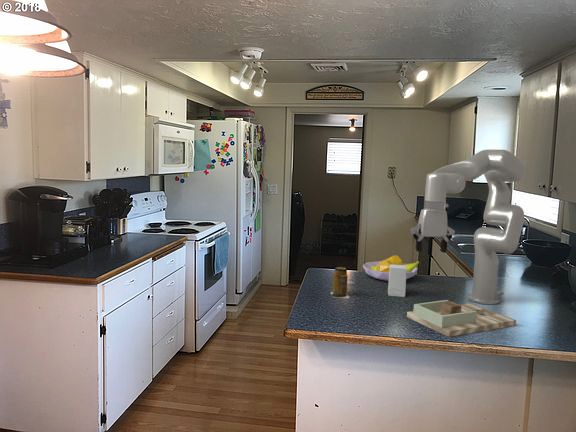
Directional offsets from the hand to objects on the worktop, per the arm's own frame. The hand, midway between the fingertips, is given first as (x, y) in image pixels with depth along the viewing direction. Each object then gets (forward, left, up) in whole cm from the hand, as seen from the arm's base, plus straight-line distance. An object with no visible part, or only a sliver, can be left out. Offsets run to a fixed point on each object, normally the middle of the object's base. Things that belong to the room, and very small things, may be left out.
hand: (430, 251), depth 183 cm
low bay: (0, +9, -23) cm, 25 cm away
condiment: (+17, -36, -25) cm, 47 cm away
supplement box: (-8, -29, -25) cm, 39 cm away
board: (-8, +9, -25) cm, 28 cm away
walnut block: (-3, +9, -23) cm, 25 cm away
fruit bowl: (-23, -53, -25) cm, 63 cm away
